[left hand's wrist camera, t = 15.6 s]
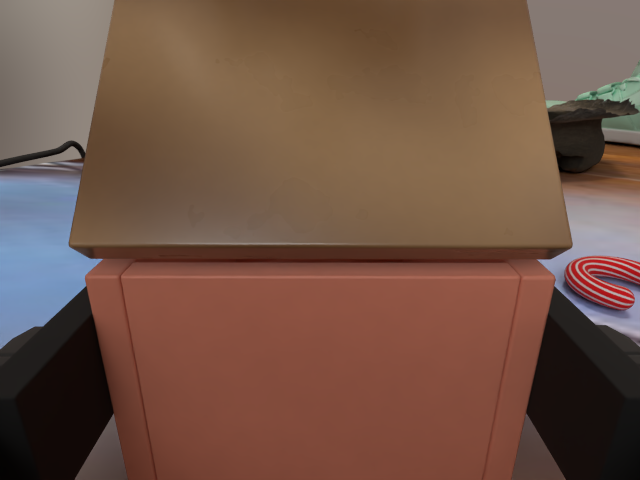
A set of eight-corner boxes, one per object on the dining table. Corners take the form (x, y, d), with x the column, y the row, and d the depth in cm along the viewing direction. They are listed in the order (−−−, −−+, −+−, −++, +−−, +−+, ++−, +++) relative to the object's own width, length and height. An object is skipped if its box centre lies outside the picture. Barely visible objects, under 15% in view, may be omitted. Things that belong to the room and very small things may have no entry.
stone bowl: (671, 174, 55) (689, 97, 52) (482, 197, 53) (488, 117, 49) (548, 140, 78) (555, 85, 74) (411, 155, 75) (412, 98, 72)
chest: (229, 325, 24) (215, 156, 21) (408, 325, 24) (423, 157, 21) (145, 571, 12) (81, 276, 9) (492, 570, 13) (558, 276, 9)
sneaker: (534, 128, 99) (552, 27, 91) (739, 148, 75) (786, 14, 68) (505, 134, 90) (522, 23, 83) (726, 159, 67) (778, 6, 59)
